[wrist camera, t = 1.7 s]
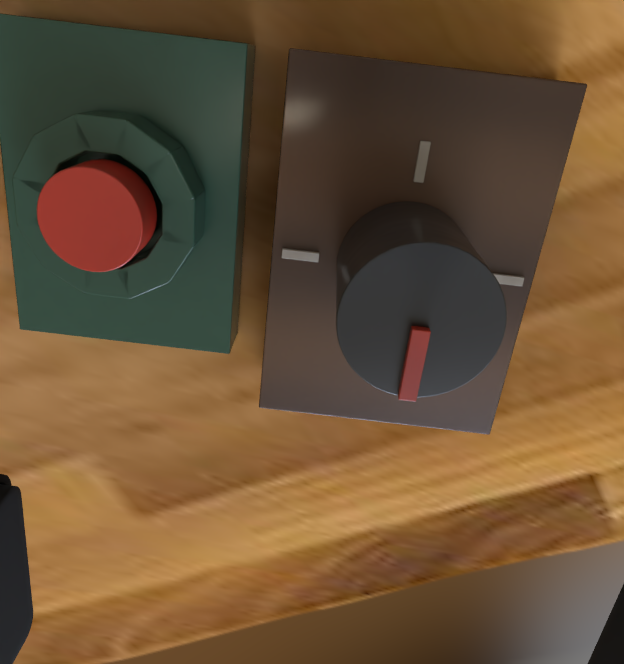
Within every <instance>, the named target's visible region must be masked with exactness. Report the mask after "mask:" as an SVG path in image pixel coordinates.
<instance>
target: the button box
mask: <svg viewBox="0 0 624 664" xmlns="http://www.w3.org/2000/svg"><path fill="white" fill-rule="evenodd" d="M254 63H255V45H251V44H247V43H240V42H232V41H224V40H215V39H207V38H199V37H190V36H182V35H174V34H165V33H157V32H149V31H141V30H132V29H124V28H116V27H107V26H99V25H91V24H82V23H74V22H66V21H58V20H49V19H41V18H33V17H24V16H16V15H8V14H0V143H1V152H2V162H3V171H4V181H5V190H6V200H7V210H8V219H9V229H10V238H11V248H12V257H13V267H14V276H15V286H16V296H17V305H18V315H19V324H20V329H23V330H31V331H40V332H48V333H57V334H65V335H74V336H82V337H91V338H99V339H108V340H116V341H125V342H133V343H142V344H151V345H159V346H168V347H176V348H185V349H193V350H202V351H210V352H219V353H227V354H229V353H230V351H231V348H232V346H233V343H234V340H235V338H236V335H237V333H238V317H239V301H240V285H241V269H242V253H243V237H244V222H245V206H246V190H247V174H248V158H249V142H250V126H251V110H252V94H253V79H254ZM94 159H106V160H112V161H115V162H118V163H121V164H123V165H125V166H127V167H128V168H130V169H132V170H133V171H134V172H135V173H137V174H138V175H139V176H140V177H141V178H142V179H143V181H144V182H145V183H146V184H147V186H148V188H149V189H150V191H151V193H152V195H153V198H154V201H155V204H156V209H157V223H156V228H155V231H154V234H153V236H152V238H151V240H150V241H149V242H148V244H147V245H146V246H145V247H144V248H143V249H142V250H141V251H139V252H138V253H137V254H136V255H135V256H134V257H133V258H132V259H131V260H130V261H129V262H127V263H126V264H125V265H123V266H121V267H119V268H117V269H114V270H111V271H106V272H92V271H86V270H82V269H79V268H77V267H74V266H72V265H70V264H69V263H67V262H65V261H64V260H63V259H61V258H60V257H59V256H58V255H57V254H56V253H55V252H54V251H53V250H52V249H51V248H50V247H49V245H48V244H47V242H46V241H45V239H44V237H43V235H42V233H41V230H40V227H39V224H38V219H37V203H38V198H39V195H40V192H41V190H42V188H43V186H44V185H45V183H46V182H47V181H48V180H49V179H50V178H51V177H52V176H53V175H55V174H56V173H58V172H59V171H61V170H64V169H66V168H69V167H72V166H75V165H77V164H80V163H83V162H85V161H89V160H94Z"/></svg>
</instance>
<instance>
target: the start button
mask: <svg viewBox="0 0 624 664" xmlns="http://www.w3.org/2000/svg"><path fill="white" fill-rule="evenodd" d="M37 219H38V224H39V227H40V230H41V233H42V235H43V237H44V239H45V241H46V242H47V244H48V245H49V247H50V248H51V249H52V250H53V251H54V252H55V253H56V254H57V255H58V256H59V257H60V258H61V259H63V260H64V261H65V262H67V263H69V264H70V265H72V266H74V267H77V268H79V269H82V270H86V271H92V272H106V271H111V270H114V269H117V268H119V267H121V266H123V265H125V264H126V263H127V262H129V261H130V260H131V259H132V258H133V257H134V256H135V255H136V254H137V253H138V252H139V251H141V250H142V249H143V248H144V247H145V246H146V245H147V244H148V242H149V241H150V240H151V238H152V236H153V234H154V231H155V228H156V223H157V209H156V204H155V201H154V198H153V195H152V193H151V191H150V189H149V188H148V186H147V184H146V183H145V182H144V181H143V179H142V178H141V177H140V176H139V175H138V174H137V173H135V172H134V171H133V170H132V169H130V168H128V167H127V166H125V165H123V164H121V163H118V162H115V161H112V160H106V159H94V160H89V161H85V162H83V163H80V164H77V165H75V166H72V167H69V168H66V169H64V170H61V171H59V172H58V173H56V174H55V175H53V176H52V177H51V178H50V179H49V180H48V181H47V182H46V183H45V185H44V186H43V188H42V190H41V192H40V195H39V198H38V203H37Z"/></svg>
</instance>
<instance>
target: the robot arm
mask: <svg viewBox="0 0 624 664" xmlns="http://www.w3.org/2000/svg"><path fill="white" fill-rule="evenodd" d="M32 619H33V605H32V596H31V586H30V576H29V566H28V557H27V547H26V537H25V527H24V518H23V508H22V498H21V492H20V489H19V487H17V486H12V485H11V481H10V479H9V477H8V476H7V475H3V474H0V664H13V662H14V660H15V658H16V656H17V655H18V653H19V651H20V649H21V647H22V646H23V644H24V642H25V640H26V638H27V636H28V634H29V631H30V628H31V624H32ZM588 664H624V585H623V587H622V589H621V591H620V594H619V596H618V598H617V600H616V602H615V604H614V607H613V609H612V611H611V613H610V615H609V618H608V620H607V622H606V625H605V627H604V629H603V631H602V633H601V636H600V638H599V640H598V642H597V644H596V646H595V649H594V651H593V653H592V656H591V658H590V660H589V662H588Z"/></svg>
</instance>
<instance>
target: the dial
mask: <svg viewBox="0 0 624 664" xmlns="http://www.w3.org/2000/svg"><path fill="white" fill-rule="evenodd" d="M506 323H507V309H506V301H505V297H504V293H503V291H502V288H501V286H500V284H499V282H498V280H497V279H496V277H495V275H494V274H493V273H492V271H491V270H490V269H489V267H488V266H487V264H486V263H485V262H484V260H483V259H482V258H481V256H480V255H479V254H478V252H477V251H476V250H475V248H474V247H473V246H472V244H471V243H470V242H469V240H468V239H467V238H466V236H465V235H464V233H463V232H462V231H461V229H460V228H459V227H458V226H457V224H456V223H455V222H454V221H453V220H452V219H451V218H450V217H449V216H448V215H446V214H445V213H443V212H442V211H441V210H439V209H437V208H435V207H433V206H430V205H427V204H424V203H419V202H410V201H403V202H394V203H389V204H386V205H383V206H380V207H378V208H376V209H374V210H372V211H370V212H368V213H367V214H365V215H364V216H363V217H361V218H360V219H359V220H358V221H357V222H356V223H355V224H354V225H353V226H352V227H351V229H350V230H349V231H348V233H347V234H346V236H345V238H344V240H343V242H342V244H341V247H340V250H339V254H338V259H337V285H336V332H337V338H338V342H339V346H340V348H341V351H342V353H343V355H344V357H345V359H346V361H347V362H348V364H349V365H350V366H351V368H352V369H353V370H354V371H355V372H356V373H357V374H358V375H359V376H360V377H361V378H362V379H363V380H365V381H366V382H367V383H369V384H371V385H372V386H374V387H376V388H377V389H380V390H382V391H384V392H387V393H390V394H394V395H398V399H399V400H405V401H414V402H416V400H417V398H418V397H430V396H436V395H440V394H444V393H447V392H450V391H452V390H455V389H457V388H459V387H461V386H463V385H465V384H466V383H468V382H469V381H471V380H472V379H474V378H475V377H476V376H477V375H479V374H480V373H481V372H482V371H483V370H484V369H485V368H486V367H487V365H488V364H489V363H490V362H491V360H492V359H493V358H494V356H495V355H496V353H497V351H498V349H499V347H500V345H501V343H502V340H503V337H504V334H505V329H506Z"/></svg>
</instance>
